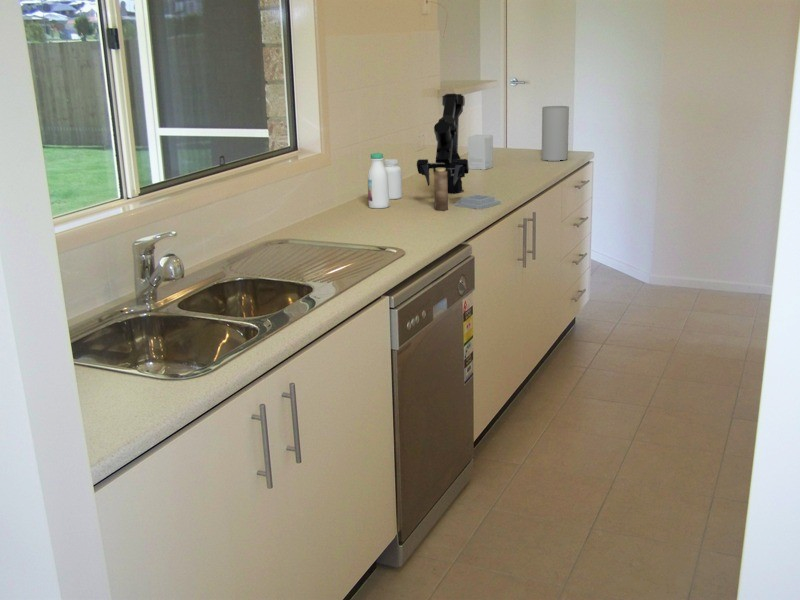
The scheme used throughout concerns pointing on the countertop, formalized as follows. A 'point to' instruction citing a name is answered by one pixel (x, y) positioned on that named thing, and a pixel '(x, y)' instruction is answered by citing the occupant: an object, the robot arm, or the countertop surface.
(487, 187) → the countertop surface
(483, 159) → the supplement box
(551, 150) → the cylinder vase
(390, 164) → the pill bottle
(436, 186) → the pepper mill
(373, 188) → the milk bottle
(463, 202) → the seat dish
